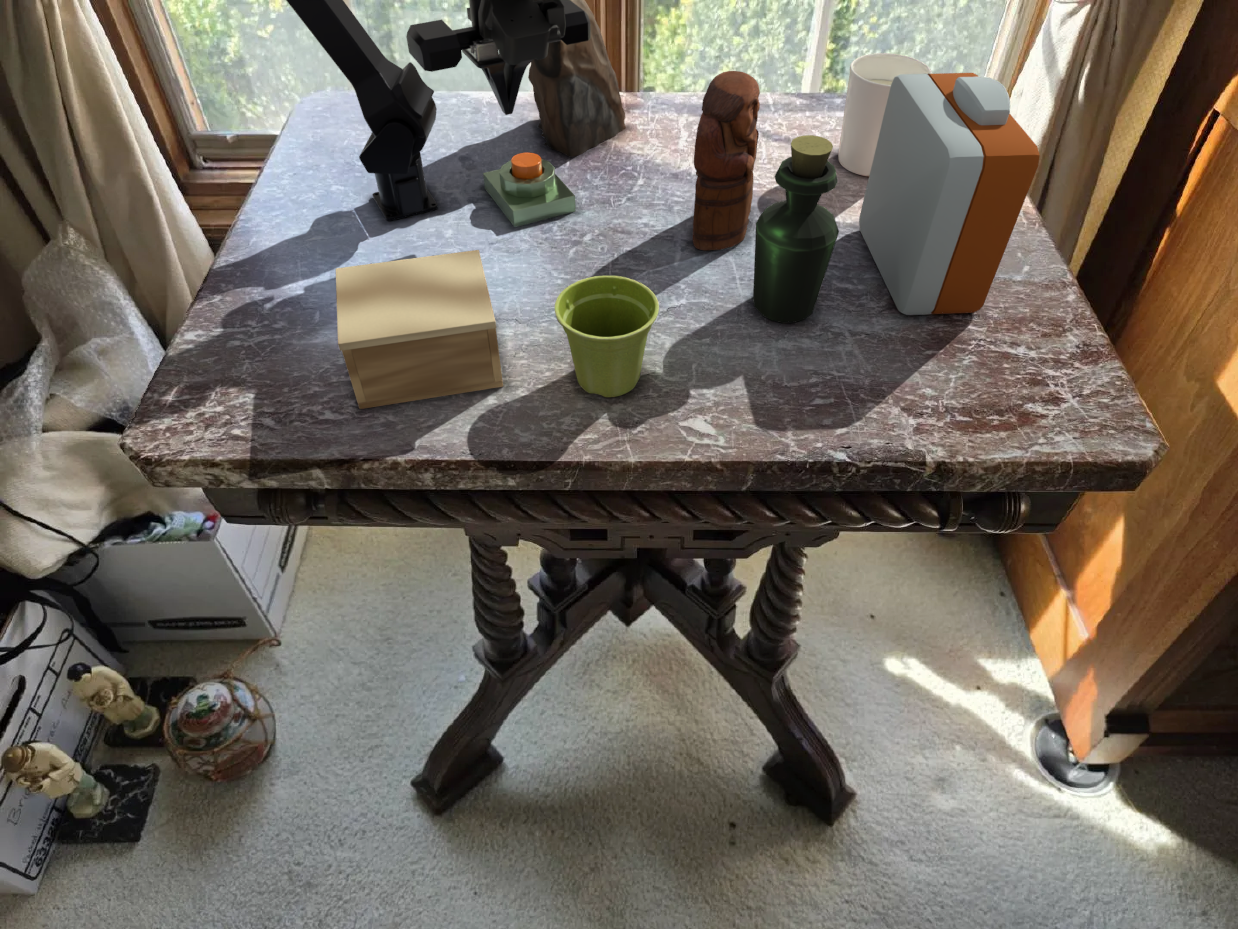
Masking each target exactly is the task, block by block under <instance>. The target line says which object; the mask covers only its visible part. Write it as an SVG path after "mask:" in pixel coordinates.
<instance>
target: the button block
mask: <svg viewBox="0 0 1238 929" xmlns="http://www.w3.org/2000/svg"><path fill="white" fill-rule="evenodd" d="M541 162H542V175H540V176H539V177H537V178H532V179H519V178H516V177H514V176H513V174H512V164H511V159H509V160H508V161H507V162H505V163H504V164H502V165H501V167H500V168H498V169H494V170H489V171H486V172H482V177H483V185H484V189H485V191H486V192H487V194H488V195H489V196H490V198H491V199H492V200H493V201H494V202H495V204H496V206H498V208H499V209H500V210H501V212H502V213H503V214H504V216H505V217H506V218H507V219H508V221H509V222H510V224H511V225H512V226H513V227H514V228H517V227H522V226H525V225H529V224H532V223H537V222H540V221H541V222H542V221H544V220H547V219H551V218H556V217H561V216H564V215H567V214H571V213H575V212H576V195H575V194H574V192H572V190H571V189H570V188H569V187H568V186H567V185H566V184H565V183H564V181H563V180H561V179H560V177H559V176H558V174H556V169H555V167H554V166H553V164H552V163H551V162H550V161H548V160H546V159H543V158H541Z"/></svg>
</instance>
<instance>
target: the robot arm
mask: <svg viewBox="0 0 1238 929" xmlns="http://www.w3.org/2000/svg"><path fill="white" fill-rule="evenodd" d="M285 2H287V3H288V5H289V6H290V7H291V9H292V10H293V11H294V13H296V15H297V16H298V17H299V19H300V20H301V22H303V24H304V25H305V27H306V28H307V29H308V30H309V32H311V34H312V35H313V37H314V39H315V40H316V41H317V42H318V43H319V45H320V46H321V47H322V48H323V50H324V52H326V53H327V55H328V56H329V57H330V58H331V60H332V62H334V64H335V66H337V68H338V69H339V70H340V72H341V73H342V75H344V77H345V78H346V80H347V81H348V82H349V83H350V85H351V86H352V88H353V89H354V92H355V95H356V98H357V101H358V104H359V107H360V110H361V113H362V116H363V119H364V121H365V122H366V124H367V126H368V128H369V129H370V131H371V134H370V135H369V137H368V139H367V141H366V143H365V145H364V147H363V148H362V150H361V152H360V154H359V156H358V158H359V161H360V163H361V164H362V166H363V167H364V169H365V171H366V172H367V173H368V174H374V177H375V181H376V186H377V191H376V192H373V193H372V199H373V200H374V202H375V204H376V206H377V207H378V209H379V211H380V213H381V214H382V216H383V217H384V219H385V221H388V222H391V221H395V220H400V219H404V218H408V217H412V216H416V215H419V214H424V213H428V212H432V211H436V210H438V209H439V206H438V203H437V201H436V200H435V198H434V196H433V195H432V194H431V193H430V191H429V189H428V188H427V182H426V176H425V172H424V165H423V161H422V160H423V159H422V155H421V151H423V149H424V147H425V145H426V143H427V140H428V138H429V135H430V133H431V131H432V129H433V127H434V125H435V122H436V120H437V110H438V109H437V105H436V102H435V101H434V98H433V96H434V93H435V89H433V88H431V87H430V86H428V84H427V83H426V82H425V81H424V80H423V79H422V77H421V75H420V73H419V71H418V69H417V68H416V66H415V65H414V64H413V63H412V62H408V63H407V64H406V65H405V66H404V67H403V68H402V67H400V66H398V65H397V64H395V63H394V62H392V61H390V60H389V59H388V58H387V57H386V56H385V55H384V54H383V53H382V51H381V50H380V48H379V47H378V46H377V44H376V43H375V41H373V39H372V37H371V36H370V35H369V33H368V32H367V30H365V28H364V27H363V25H362V24H361V22H360V21H359V19H358V18H357V17H356V15H355V14H354V13H353V12H352V10H351V9H350V7H349V6H348V5H347V4H346V2H345V0H285ZM468 3H469V7H466V14H467V19H468V20H469V21H470V22H471V26H468V27H463V28H457V29H452V28H451V27H450V26H449V25H448V24H447V23H446V22H445V21H444V20H443V19H437V20H431V21H426V22H419V23H416V24H410V25H409V28H408V30H407V32H406V35H405V37H406V43H407V48H408V53H409V54H410V55H411V56H412V58H413V59H414V60H415V61H416V62H417V64H418V65H419V66H420V67H421V68H422V69H423V70H424V72H431V73H432V72H438V71H443V70H447V69H452V68H457V66H458V65H459V63H460V62H461V60H462V59H463V54H464V55H465V56H466V57H467V59H469V60H470V61H471V63H473V65H475V66H476V67H477V68H478V69H481V71H482V72H483V74H484V76H485V78H486V80H487V82H488V84H489V87H490V88H491V90H492V93H493V95H494V96H495V99H496V101H497V103H498V105H499V107H500V110H501V111H502V113H503V114H504V115H505V116H508V115H513V113H514V109H515V106H516V102H517V98H518V94H519V91H520V87H521V83H522V80H523V77H524V75H525V73H526V70H527V68H528V66H529V65H531V62H532V61H533V60H534V59H537V60H541V59H544V58H546V57H547V55H548V46H549V43H552V42H557V41H560V40H562V41H563V42H564V43H565V44H566V45H569V44H575V43H580V42H585V41H589V39H590V38H591V28H590V20H589V17H588V14H587V13H586V12H585V11H584V10H582V9H581V8H580V7H578V6H577V5H576V4H575V3H573V2H572V1H571V0H545V1H542V0H538V1H534V0H468ZM462 53H463V54H462Z"/></svg>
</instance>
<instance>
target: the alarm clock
mask: <svg viewBox="0 0 1238 929" xmlns="http://www.w3.org/2000/svg"><path fill="white" fill-rule="evenodd" d="M1040 157H1041V155H1040V152H1039V148H1038V145H1037V143H1036V142H1034V141H1033V139H1032V138H1031V137H1030V135H1029V134H1028V133H1027V132H1026V131H1025V130H1024V128H1023V127H1022V126H1021V125H1020V124H1019V122H1018V121H1017V120H1016V119H1015V118H1014V117H1013V116H1012V114H1011V99H1010V95H1009V93H1008V90H1007V89H1006V87H1005V86H1004V84H1002V83H1001V82H1000V81H998V80H997V79H995V78H992V77H989V76H979V75H978V74H976V73H974V72H950V73H948V72H946V73H944V72H943V73H942V72H939V73H932V74H900V75H898V76H896V77H894V79H893V82H892V84H891V88H890V92H889V96H888V100H887V104H886V108H885V112H884V116H883V120H882V125H881V129H880V133H879V138H878V142H877V146H876V150H875V154H874V159H873V163H872V167H871V171H870V175H869V176H868V180H867V183H866V187H865V192H864V195H863V199H862V203H861V204H862V205H861V209H860V212H859V218H858V225H859V231H860V233H861V235H862V238H863V240H864V242H865V243H866V244H865V245H866V246H867V248H868V250H869V252H870V254H871V257H872V258H873V261H874V263H875V265H876V267H877V269H878V272H879V273H880V276H881V277H882V279H883V282H884V283H885V286H886V288H887V290H888V292H889V294H890V296H891V299H892V300H893V302H894V305H895V307H896V309H897V311H898V312H899V313H901V314H903V315H905V316H918V315H946V314H968V313H976V312H978V311H980V310H981V309H982V308H983V307H984V305H985V302H986V299H987V297H988V294H989V293H990V289H991V287H992V285H993V282H994V279H995V277H996V275H997V272H998V269H999V267H1000V264H1001V262H1002V259H1003V256H1004V254H1005V252H1006V250H1007V247H1008V244H1009V241H1010V240H1011V237H1012V234H1013V231H1014V228H1015V226H1016V223H1017V221H1018V218H1019V216H1020V213H1021V211H1022V208H1023V206H1024V203H1025V202H1026V198H1027V196H1028V194H1029V191H1030V188H1031V185H1032V183H1033V180H1034V178H1035V175H1036V173H1037V170H1038V168H1039V164H1040Z"/></svg>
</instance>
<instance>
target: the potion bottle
mask: <svg viewBox="0 0 1238 929" xmlns="http://www.w3.org/2000/svg"><path fill="white" fill-rule="evenodd" d="M833 148H834V145H833V143H832V141H830V140H828V138H825V137H822V136H818V135H814V134H803V135H799V136H796V137H795V138H793V139H792V140H791V142H790V151H791V152H790V153H791V156H789V157H787V158H785V159H784V160H782V161H781V163H780V164H779V166H778V169H777V171H776V173H775V175H774V180H775V183H776V184H777V185H778V186H779V187H780V188H781V189H783V190H784V191H785V193H784V194H785V199H784V200H781V201H777V202H776V201H775V202H773V203H772V204H770V205H769V206H766V208H765V209H764V210H763V211H762V212H761V213H760V214H759V217H758V219H757V221H756V223H755V236H754V237H755V238H754V239H755V240H754V241H755V242H754V263H753V264H754V266H753V290H752V293H753V294H752V300H753V302H752V303H753V307H754V308H755V309H756V310H757V311H758V312H759V314H760V315H761V316H763V317H764V318H767V319H768V320H770V321H773V322H777V323H782V324H784V323H785V324H786V323H788V324H789V323H790V324H791V323H797V322H800V321H803V320H805V319H807V318H808V317H809V316H811V315H812V314H813V312H814V309H815V308H816V304H817V302H818V299H819V296H820V292H821V289H822V286H823V283H824V279H825V276H826V273H827V270H828V268H829V264H830V262H831V258H832V254H833V253H834V252H833V251H834V248H835V246H836V242H837V239H838V236H839V232H840V230H839V228H838V225H837V221H836V219H835V216H834V214H833V213H832V212H831V211H830V210H829V209H827V207H825V206H822V205H820V204H819V201H820V199H821V198H822V195H824V194H828V193H830V192H831V191H833V190H834V189H836V187H837V184H838V175H837V170H836V167H835V165H834V164H833V163H832V162H830V161H829V158H830V156H831V153H832V151H833Z"/></svg>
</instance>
